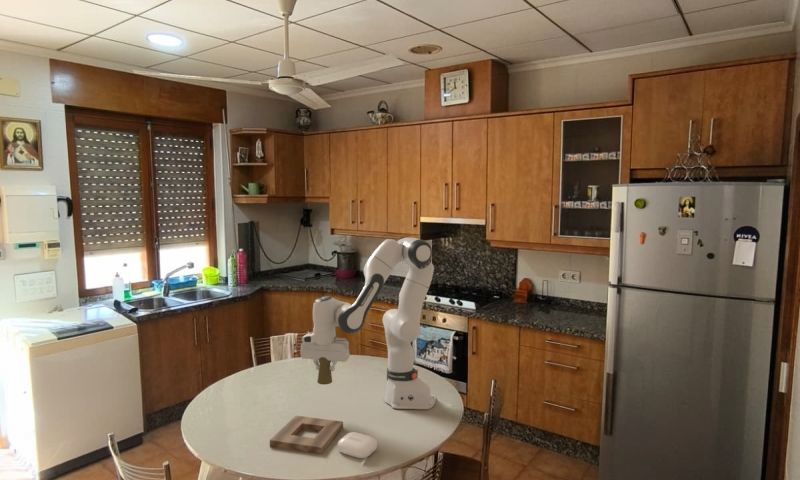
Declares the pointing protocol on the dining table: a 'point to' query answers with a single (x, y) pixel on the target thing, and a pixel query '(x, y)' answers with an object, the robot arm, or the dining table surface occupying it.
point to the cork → (324, 372)
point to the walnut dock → (305, 444)
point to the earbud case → (357, 445)
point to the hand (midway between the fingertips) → (325, 370)
